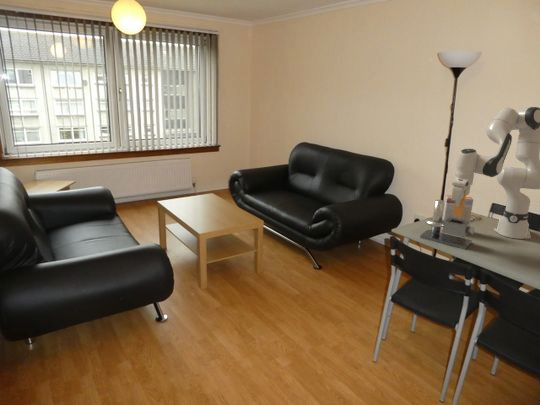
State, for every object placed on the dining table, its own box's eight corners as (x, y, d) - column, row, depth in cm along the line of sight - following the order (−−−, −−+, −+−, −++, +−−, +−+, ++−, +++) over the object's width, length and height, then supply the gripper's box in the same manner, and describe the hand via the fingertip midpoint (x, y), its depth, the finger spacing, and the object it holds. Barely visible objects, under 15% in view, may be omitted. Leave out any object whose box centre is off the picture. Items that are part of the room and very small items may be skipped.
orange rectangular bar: (454, 214, 213) (458, 189, 209) (462, 215, 211) (466, 190, 207) (452, 215, 211) (457, 190, 207) (460, 217, 209) (465, 191, 205)
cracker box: (465, 230, 234) (471, 196, 228) (467, 233, 228) (474, 199, 222) (440, 227, 237) (445, 194, 231) (442, 231, 232) (447, 197, 225)
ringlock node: (427, 231, 230) (432, 196, 224) (473, 243, 215) (480, 205, 208) (420, 237, 221) (425, 201, 215) (467, 250, 206) (474, 211, 200)
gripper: (462, 176, 215) (458, 200, 219) (451, 182, 200) (447, 208, 204) (475, 178, 211) (470, 202, 215) (464, 184, 196) (460, 210, 200)
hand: (459, 205), depth 210 cm, fingers closed on orange rectangular bar, 3 cm apart
